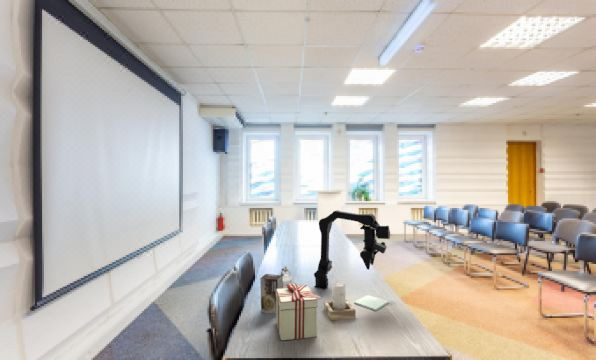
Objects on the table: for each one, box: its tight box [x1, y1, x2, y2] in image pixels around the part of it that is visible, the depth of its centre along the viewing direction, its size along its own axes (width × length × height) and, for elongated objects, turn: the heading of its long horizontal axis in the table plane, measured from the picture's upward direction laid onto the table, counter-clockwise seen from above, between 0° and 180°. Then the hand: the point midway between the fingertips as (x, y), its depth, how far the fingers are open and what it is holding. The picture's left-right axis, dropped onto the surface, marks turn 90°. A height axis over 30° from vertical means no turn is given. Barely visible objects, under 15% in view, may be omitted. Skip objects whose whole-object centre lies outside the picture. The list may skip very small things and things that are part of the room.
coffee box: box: [259, 273, 283, 314], centre depth 137 cm, size 9×6×16 cm
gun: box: [280, 265, 294, 284], centre depth 185 cm, size 36×4×10 cm
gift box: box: [275, 282, 323, 341], centre depth 120 cm, size 17×18×17 cm
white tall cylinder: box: [331, 282, 347, 311], centre depth 132 cm, size 8×6×13 cm
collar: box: [323, 299, 357, 321], centre depth 133 cm, size 11×11×4 cm
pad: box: [353, 294, 389, 312], centre depth 143 cm, size 12×12×1 cm
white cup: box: [282, 275, 293, 288], centre depth 152 cm, size 8×8×10 cm
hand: (370, 266), depth 154 cm, fingers open, 9 cm apart
